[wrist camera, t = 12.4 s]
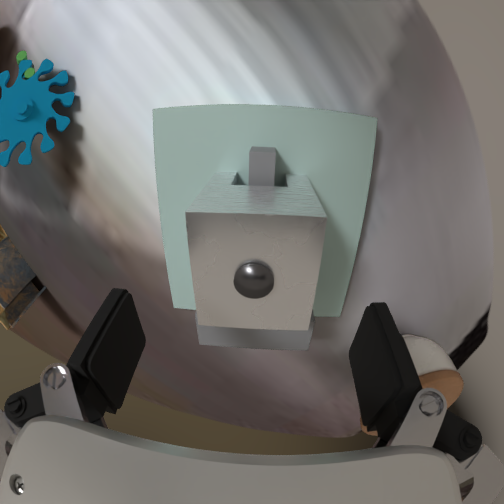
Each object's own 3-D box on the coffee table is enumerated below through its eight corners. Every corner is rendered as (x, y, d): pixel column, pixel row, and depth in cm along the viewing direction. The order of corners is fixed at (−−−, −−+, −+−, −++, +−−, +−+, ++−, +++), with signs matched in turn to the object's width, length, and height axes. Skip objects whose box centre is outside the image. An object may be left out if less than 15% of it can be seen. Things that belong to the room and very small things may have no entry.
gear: (77, 150, 18) (-24, 181, 13) (73, 156, 23) (-10, 181, 17) (78, 37, 14) (-21, 61, 9) (71, 61, 19) (-11, 81, 13)
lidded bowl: (348, 332, 28) (368, 419, 19) (445, 305, 26) (485, 376, 17) (349, 389, 34) (360, 456, 25) (428, 367, 32) (450, 427, 22)
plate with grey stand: (160, 108, 18) (110, 113, 12) (370, 117, 18) (417, 125, 11) (178, 298, 27) (155, 353, 21) (336, 306, 27) (351, 365, 20)
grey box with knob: (216, 171, 19) (183, 214, 12) (306, 174, 19) (328, 220, 12) (219, 256, 23) (197, 328, 16) (298, 259, 22) (308, 334, 15)
